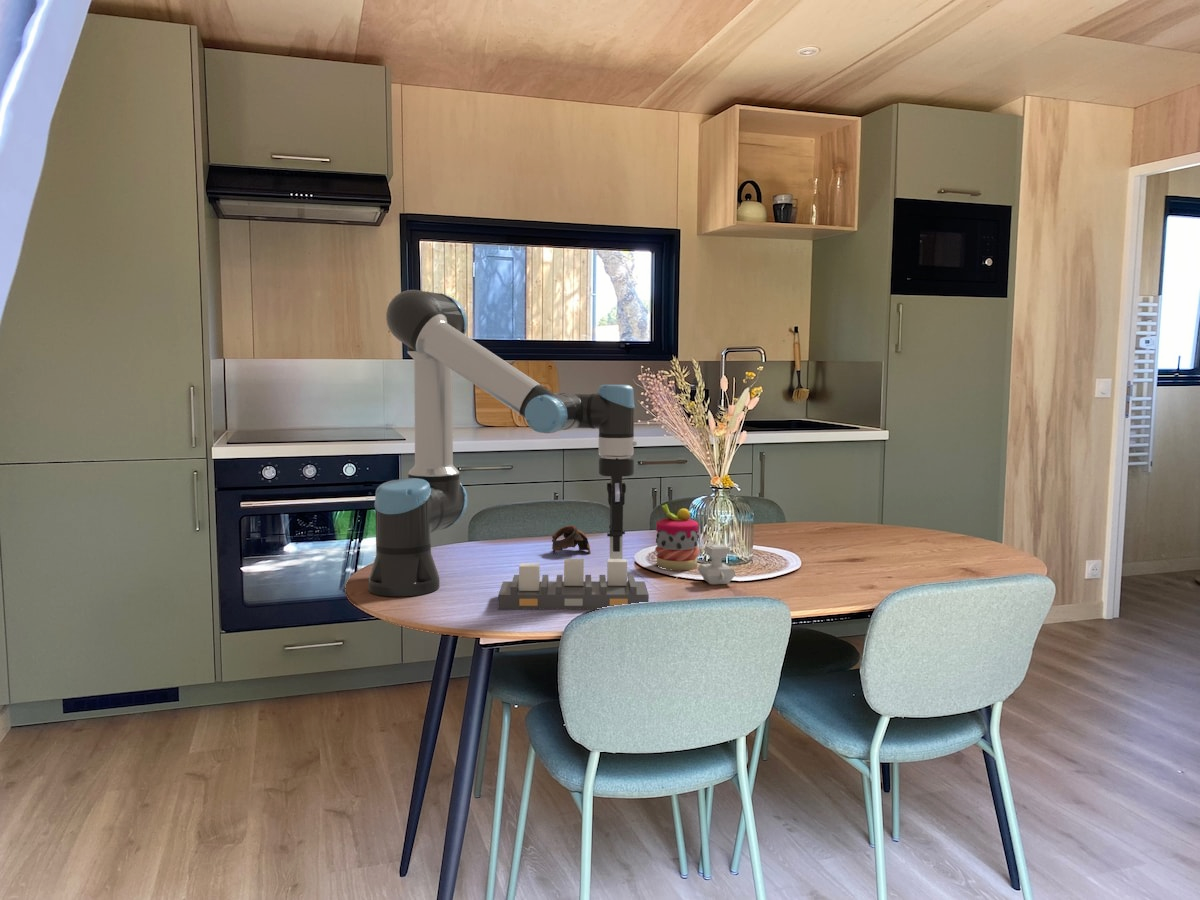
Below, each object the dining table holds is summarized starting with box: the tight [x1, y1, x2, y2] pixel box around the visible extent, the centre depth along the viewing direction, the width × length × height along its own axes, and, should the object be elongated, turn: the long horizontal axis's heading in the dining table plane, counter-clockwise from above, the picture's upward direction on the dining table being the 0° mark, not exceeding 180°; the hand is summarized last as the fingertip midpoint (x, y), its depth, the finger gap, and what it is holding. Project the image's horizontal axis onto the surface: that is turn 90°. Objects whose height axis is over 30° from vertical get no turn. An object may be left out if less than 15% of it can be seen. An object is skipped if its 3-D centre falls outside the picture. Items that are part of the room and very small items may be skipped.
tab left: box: [518, 562, 541, 591], centre depth 181 cm, size 4×3×5 cm
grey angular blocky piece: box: [697, 544, 736, 586], centre depth 200 cm, size 9×7×8 cm
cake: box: [655, 503, 700, 571], centre depth 217 cm, size 10×11×15 cm
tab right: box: [606, 558, 628, 586], centre depth 186 cm, size 4×3×5 cm
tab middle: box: [563, 558, 585, 586], centre depth 185 cm, size 4×3×5 cm
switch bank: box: [497, 574, 650, 610], centre depth 183 cm, size 30×11×4 cm, turn 91°
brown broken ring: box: [551, 525, 591, 555], centre depth 233 cm, size 12×10×8 cm
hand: (616, 565), depth 193 cm, fingers closed
